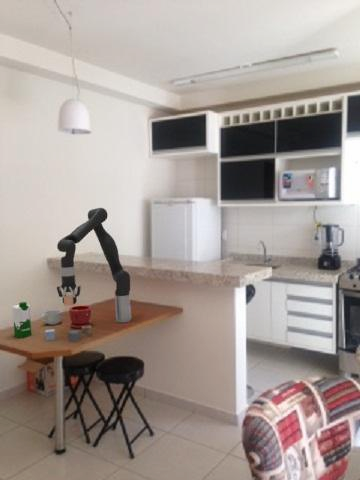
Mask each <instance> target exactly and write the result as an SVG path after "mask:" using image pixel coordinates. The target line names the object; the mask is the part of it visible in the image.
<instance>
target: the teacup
mask: <svg viewBox="0 0 360 480" xmlns="http://www.w3.org/2000/svg"><path fill="white" fill-rule="evenodd" d="M62 313H63V311H62V310H60V309H48V310H45V311H44V313H43V314H41V316H40V319H41V321H43V322H45V323H46V324H48V325H50V326H54V325H58V324H60V323H61V321H62Z"/></svg>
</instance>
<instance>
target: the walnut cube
mask: <svg viewBox="0 0 360 480" xmlns="http://www.w3.org/2000/svg"><path fill="white" fill-rule="evenodd" d="M92 330H93V329H92V325H90V324H89V325H88V326H83V327H82V328H81V338H82V337H84V338H85V337H92V335H91V334H93V332H92Z"/></svg>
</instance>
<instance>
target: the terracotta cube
mask: <svg viewBox="0 0 360 480" xmlns="http://www.w3.org/2000/svg"><path fill="white" fill-rule="evenodd" d="M73 298H74V297H73V295H72V294H66V296H65V297H64V303H63V306H67V307H68V306H70V307H74V305H75V304H74V302H73Z"/></svg>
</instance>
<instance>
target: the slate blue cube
mask: <svg viewBox="0 0 360 480" xmlns="http://www.w3.org/2000/svg"><path fill="white" fill-rule="evenodd" d="M55 330H56V329H55V328H51V329H50V328H49V329H45V341H46V342H47V341H48V342H49V341H55V340H56V332H55Z"/></svg>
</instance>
